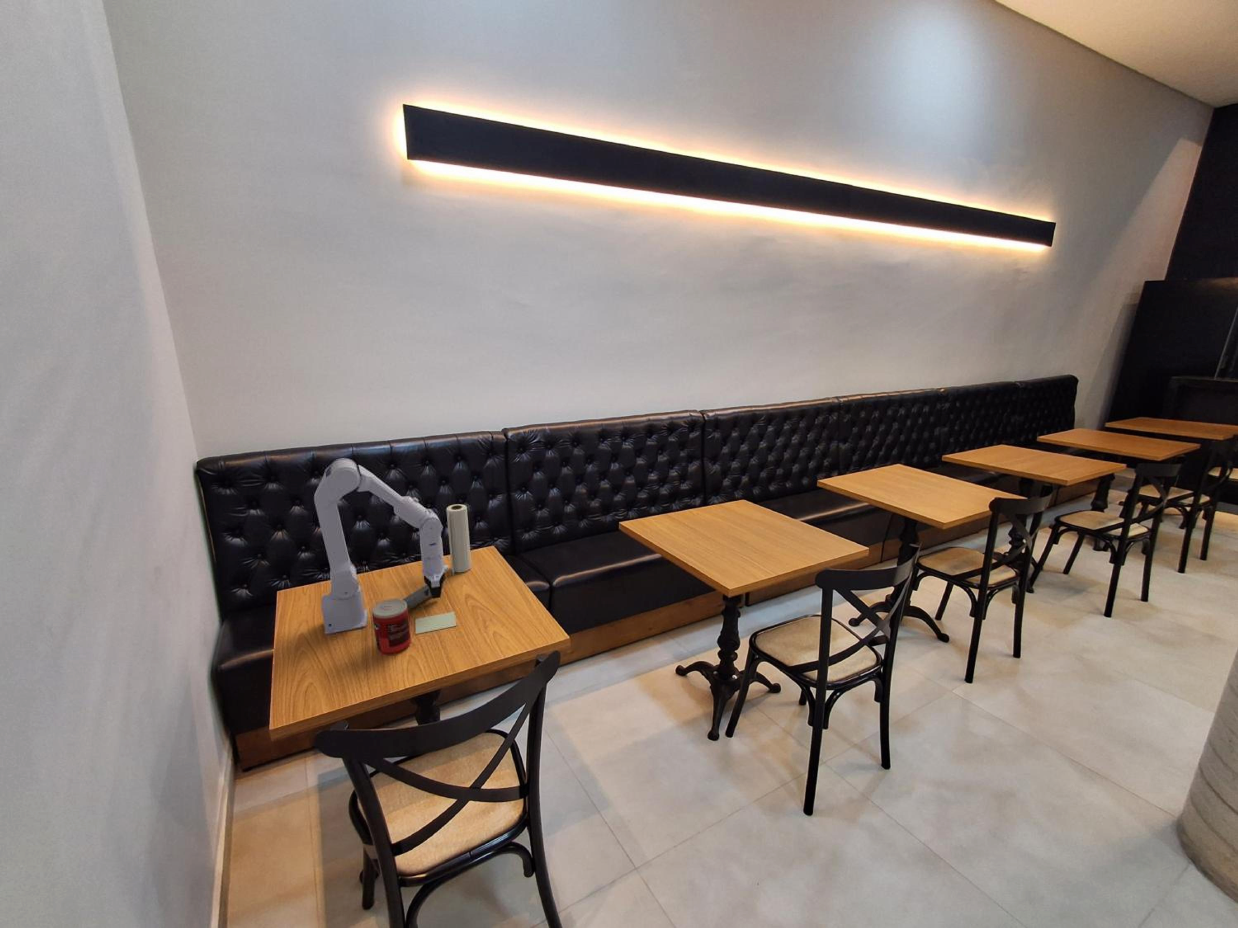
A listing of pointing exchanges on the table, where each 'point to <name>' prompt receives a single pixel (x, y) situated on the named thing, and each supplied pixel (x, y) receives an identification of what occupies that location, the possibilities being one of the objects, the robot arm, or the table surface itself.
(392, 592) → the table surface
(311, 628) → the table surface
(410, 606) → the grey copper-tipped rod
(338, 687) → the table surface
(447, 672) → the table surface
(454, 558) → the paper towel roll
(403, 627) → the canned food
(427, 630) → the plate
